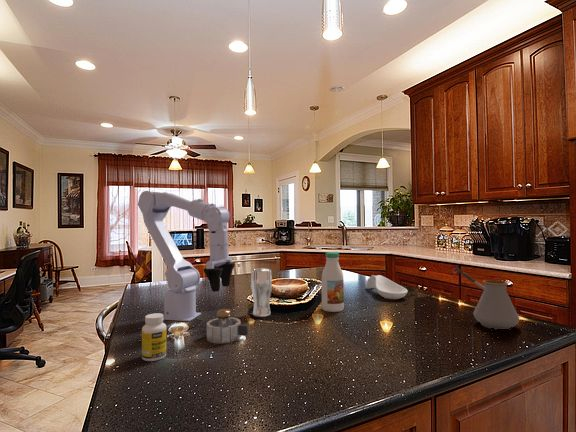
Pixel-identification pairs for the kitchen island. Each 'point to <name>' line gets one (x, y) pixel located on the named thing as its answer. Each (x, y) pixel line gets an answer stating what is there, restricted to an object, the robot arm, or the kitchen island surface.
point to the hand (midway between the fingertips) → (220, 288)
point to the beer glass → (261, 291)
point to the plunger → (223, 315)
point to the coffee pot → (494, 305)
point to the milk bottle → (332, 284)
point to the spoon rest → (386, 287)
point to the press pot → (225, 330)
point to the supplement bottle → (154, 338)
